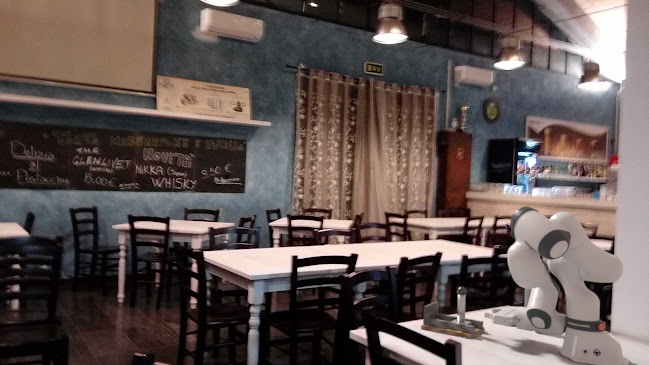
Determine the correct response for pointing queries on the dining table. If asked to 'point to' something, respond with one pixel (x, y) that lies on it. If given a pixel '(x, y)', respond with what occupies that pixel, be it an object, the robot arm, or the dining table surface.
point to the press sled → (461, 307)
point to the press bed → (449, 323)
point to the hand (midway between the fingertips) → (488, 312)
